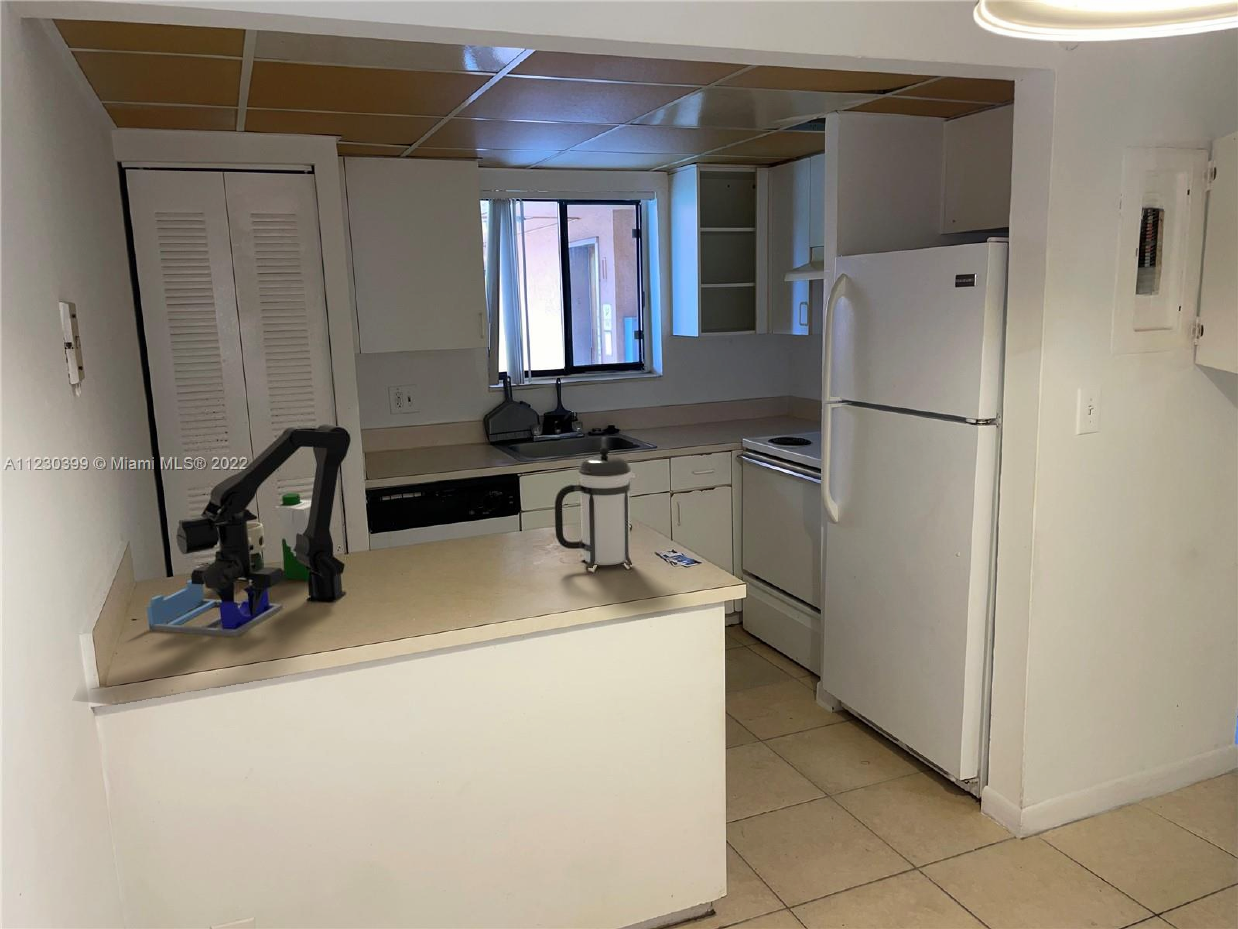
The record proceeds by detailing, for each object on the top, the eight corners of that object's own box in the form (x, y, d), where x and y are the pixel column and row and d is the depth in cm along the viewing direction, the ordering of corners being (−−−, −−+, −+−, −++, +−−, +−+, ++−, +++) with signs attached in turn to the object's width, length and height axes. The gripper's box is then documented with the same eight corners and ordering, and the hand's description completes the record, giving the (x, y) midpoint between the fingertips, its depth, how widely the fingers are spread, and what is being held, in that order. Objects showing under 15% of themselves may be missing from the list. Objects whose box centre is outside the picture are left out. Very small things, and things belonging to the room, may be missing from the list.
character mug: (269, 581, 213) (264, 529, 210) (237, 586, 210) (231, 533, 207) (265, 569, 222) (260, 519, 220) (234, 573, 219) (229, 522, 217)
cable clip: (251, 610, 194) (248, 584, 193) (269, 611, 193) (267, 585, 192) (215, 631, 182) (212, 603, 181) (235, 632, 181) (232, 604, 180)
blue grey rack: (282, 608, 194) (280, 581, 193) (237, 636, 179) (234, 607, 178) (200, 602, 199) (198, 576, 197) (149, 629, 183) (146, 601, 182)
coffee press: (597, 551, 233) (594, 439, 227) (647, 561, 224) (646, 445, 218) (554, 569, 219) (551, 449, 213) (606, 580, 210) (604, 456, 204)
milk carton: (301, 568, 223) (294, 490, 219) (331, 571, 220) (325, 492, 216) (277, 579, 214) (270, 498, 211) (309, 582, 212) (302, 501, 208)
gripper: (168, 552, 179) (177, 625, 182) (250, 557, 175) (258, 631, 178) (204, 537, 189) (212, 606, 192) (282, 541, 185) (289, 611, 188)
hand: (241, 614), depth 187 cm, fingers open, 5 cm apart
